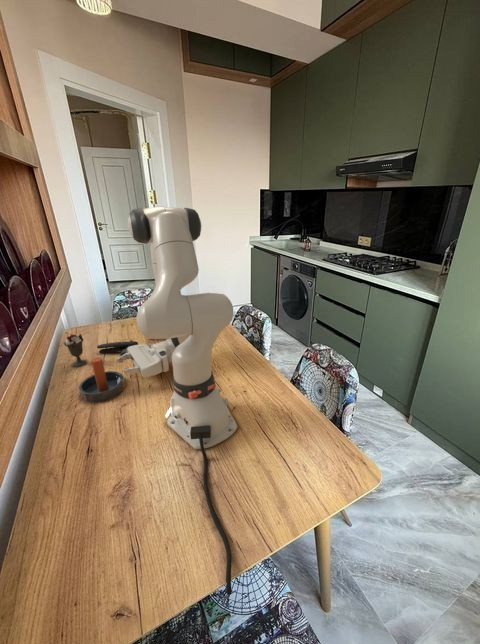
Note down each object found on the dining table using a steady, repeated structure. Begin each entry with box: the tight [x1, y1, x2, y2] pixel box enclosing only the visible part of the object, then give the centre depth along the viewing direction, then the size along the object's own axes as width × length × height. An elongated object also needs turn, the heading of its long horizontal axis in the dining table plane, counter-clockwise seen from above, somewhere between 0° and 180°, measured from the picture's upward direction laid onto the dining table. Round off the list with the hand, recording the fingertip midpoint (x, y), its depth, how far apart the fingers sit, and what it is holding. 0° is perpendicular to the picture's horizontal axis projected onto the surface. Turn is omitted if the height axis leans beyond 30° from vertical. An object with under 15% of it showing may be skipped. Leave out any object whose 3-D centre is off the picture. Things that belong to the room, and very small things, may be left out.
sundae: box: [63, 331, 88, 368], centre depth 115 cm, size 7×7×15 cm
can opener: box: [96, 339, 139, 356], centre depth 125 cm, size 18×7×6 cm, turn 89°
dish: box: [78, 370, 126, 403], centre depth 101 cm, size 14×14×4 cm
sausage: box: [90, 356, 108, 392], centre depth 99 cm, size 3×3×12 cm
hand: (120, 365), depth 103 cm, fingers open, 8 cm apart
